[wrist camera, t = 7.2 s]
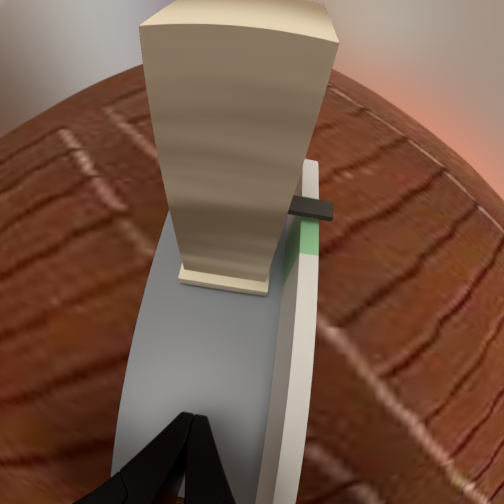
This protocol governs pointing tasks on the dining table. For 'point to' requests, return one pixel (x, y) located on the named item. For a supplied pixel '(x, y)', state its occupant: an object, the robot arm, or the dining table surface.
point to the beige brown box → (235, 127)
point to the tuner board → (230, 361)
